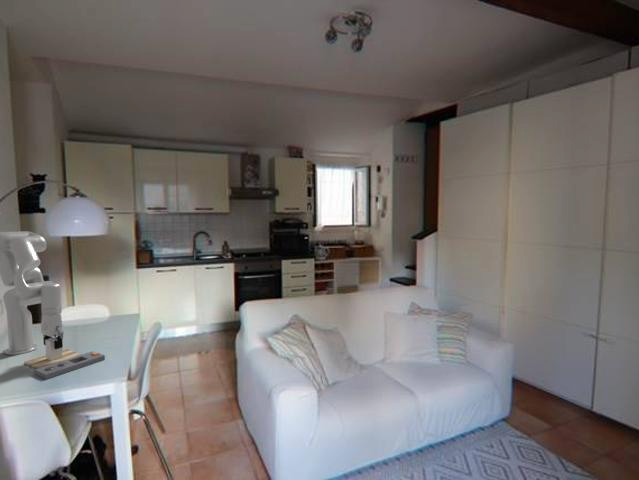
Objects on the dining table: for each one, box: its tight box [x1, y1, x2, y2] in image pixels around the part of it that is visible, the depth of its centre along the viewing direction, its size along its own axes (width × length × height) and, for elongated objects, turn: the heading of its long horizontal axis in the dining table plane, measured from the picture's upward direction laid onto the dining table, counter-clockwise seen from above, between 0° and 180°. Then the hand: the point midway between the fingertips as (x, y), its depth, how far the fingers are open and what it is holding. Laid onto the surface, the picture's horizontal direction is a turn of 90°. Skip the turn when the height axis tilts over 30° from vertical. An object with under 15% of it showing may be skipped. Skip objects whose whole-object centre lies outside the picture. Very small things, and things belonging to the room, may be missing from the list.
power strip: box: [33, 351, 106, 380], centre depth 164 cm, size 10×24×3 cm, turn 150°
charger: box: [44, 336, 63, 361], centre depth 171 cm, size 5×5×10 cm
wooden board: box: [24, 348, 83, 369], centre depth 171 cm, size 14×18×1 cm
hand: (53, 346), depth 171 cm, fingers open, 9 cm apart
